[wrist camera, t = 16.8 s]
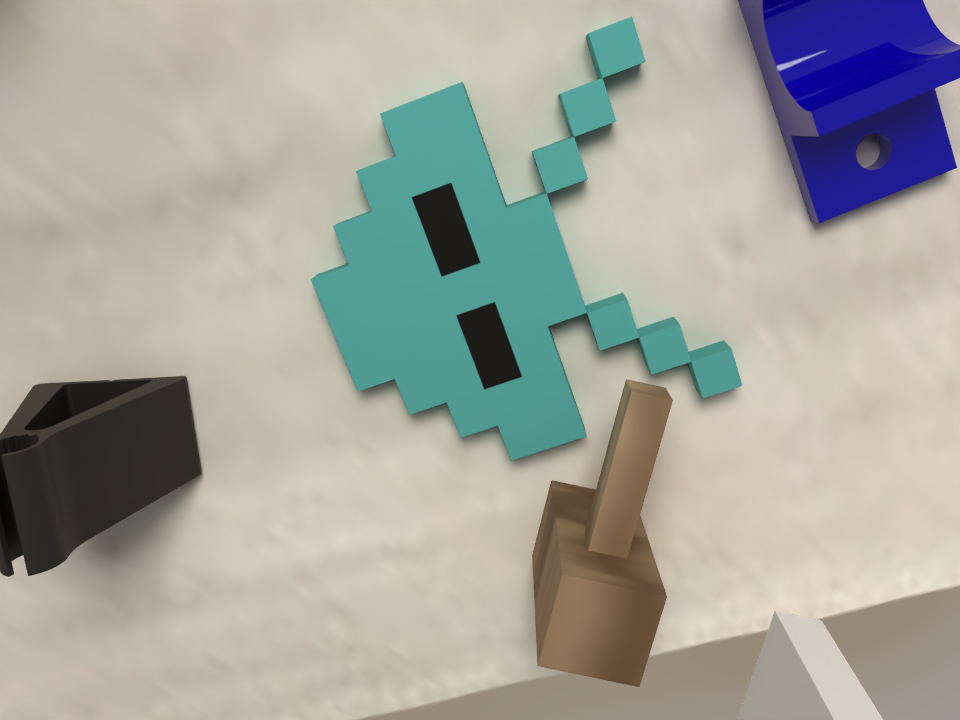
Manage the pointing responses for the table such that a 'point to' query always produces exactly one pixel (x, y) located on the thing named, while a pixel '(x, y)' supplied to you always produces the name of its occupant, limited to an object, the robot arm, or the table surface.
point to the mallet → (603, 555)
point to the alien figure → (484, 273)
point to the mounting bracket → (854, 94)
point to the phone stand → (89, 462)
